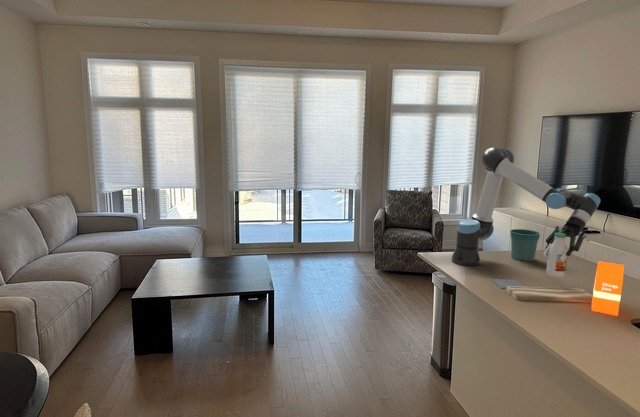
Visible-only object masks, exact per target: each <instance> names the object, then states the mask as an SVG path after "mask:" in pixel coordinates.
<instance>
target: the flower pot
mask: <svg viewBox="0 0 640 417" xmlns="http://www.w3.org/2000/svg"><path fill="white" fill-rule="evenodd" d="M509 232H510V239H511V240H510V248H511V249H510V252H511V254H510V255H511V256H510V257H511V258H512V259H514V260H516V261H524V262H533V261H534V260H535V257H536V252H537V248H538V242H539V240H540V236H541V235H542V233H541V232H540V231H537V230H532V229H527V228H526V229H525V228H514V229H510V230H509Z"/></svg>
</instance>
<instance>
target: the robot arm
mask: <svg viewBox="0 0 640 417" xmlns="http://www.w3.org/2000/svg"><path fill="white" fill-rule="evenodd" d="M514 162H515V154H514V152H513V151H512V150H511V149H509V148H506V147H502V146H501V147H496V146H495V147H494V146H493V147H489V148H487V149H486V150H484V151H483V152H482V155H481V163H482V165H483V166H484V167H485V172H486V176H485V180H484V184H483V187H482V190H481V193H480V198H479V202H478V206H477V208H476V212H475V213H474V214H472V216H471V218H468V219H462V220H459V221H458V223H457V228H456V241H455V243H456V244H455V248H454V250H453V252H452V255H451V262H452V263H453V264H457V265H462V266H467V267H468V266H469V267H471V266H472V267H475V266H479V265H480V264H481V257H480V253H479V242H481V241H485V240H487V239H489V238H490V237H491V236H492V235H493V233H494V219H493V213H494V210H495V206H496V203H497V200H498V196H499V193H500V189H501V186H502V183H503V179H504V178H506V179H507V180H509V181H511V182H512V183H514V184H515V185H517V186H518V187H520V188H522V189H523V190H525V191H526V192H528V193H530V194H531V195H532V196H534V197H536V198H538V199H540V200H541V201H543V202H544V203H545V204H546V206H547V207H548V208H550V209H552V210H559V209H562V208H569V209H572V210H573V211H572V213H571V215H570V216H569V218H568V219H567V221H566V222H565V224H564V225H563V226H562V227H560V226H558V225H557V226H555V228H554V230H553V231H552V233H551V234H550V235H548V237H547V238H546V239H545V242H546V244H547V245H546V246H545V248H544V249H545V250H544V251H543V254H542V255H543V256H544V258H545V259H546V258H547V259H548V254H549V249H550V246H551V245H552V243H553V242H554V240H555V233H564V234H566V238H569V246H568V247H567V249H566V250H565V252H564V253H563V255H562V256H561V258H560V259H561V261H562V262H564V261H565V259H566V258H567V259H568V257H570V256H571V255H572V253H573V252H579V250H580V248H581V246H582V244H583V242H584V239H585V238H586V237H587V234H586V231H583V230H584V229H585V228H586V225H587V224H588V222H589V220H590V219H591V218H592V217H593V215H594V213H595V212H596V210H597V209H598V207H599V205H600V204H601V198H600V197H599V196H598V195H597V194H595V193H592V192H591V193H590V192H587V193H585V194H583V195H581V194H577V193H574V192H572V191H569V190H566V189H563V188H554V187H552V186H550V185H549V184H547V183H545V182H544V181H543V180H540V178H537V177H535V176H534V175H532V174H531V173H529V172H527V171H526V170H524V169H523V168H521V167H519V166H517V165H516V164H514ZM577 236H578V238H577V240H576V237H577Z"/></svg>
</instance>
